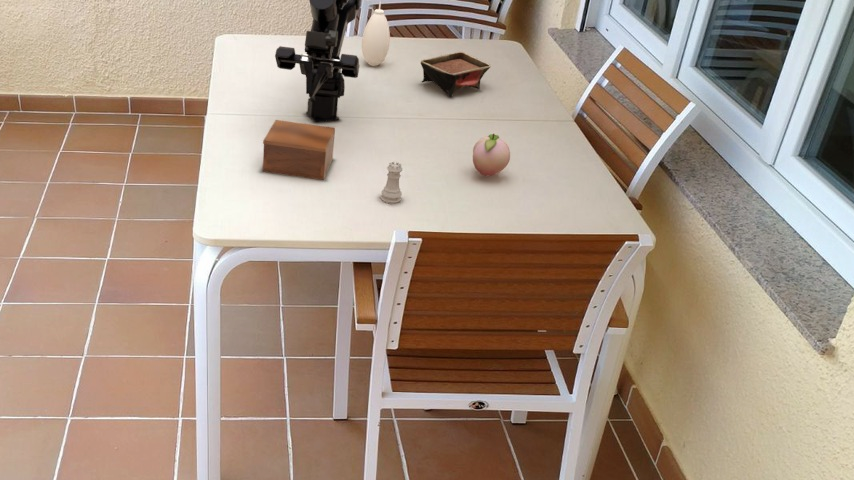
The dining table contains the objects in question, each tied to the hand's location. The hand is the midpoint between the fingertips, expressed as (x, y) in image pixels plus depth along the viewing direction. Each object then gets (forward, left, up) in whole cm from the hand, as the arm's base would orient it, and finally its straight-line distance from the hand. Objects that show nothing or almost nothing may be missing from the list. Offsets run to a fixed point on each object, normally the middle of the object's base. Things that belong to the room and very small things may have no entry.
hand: (310, 96), depth 217 cm
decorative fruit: (-33, +25, -12) cm, 44 cm away
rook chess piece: (-6, +30, -12) cm, 33 cm away
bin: (+6, +9, -12) cm, 16 cm away
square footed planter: (-55, -29, -12) cm, 64 cm away
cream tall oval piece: (-42, -51, -12) cm, 68 cm away
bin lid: (+6, +9, -5) cm, 12 cm away
